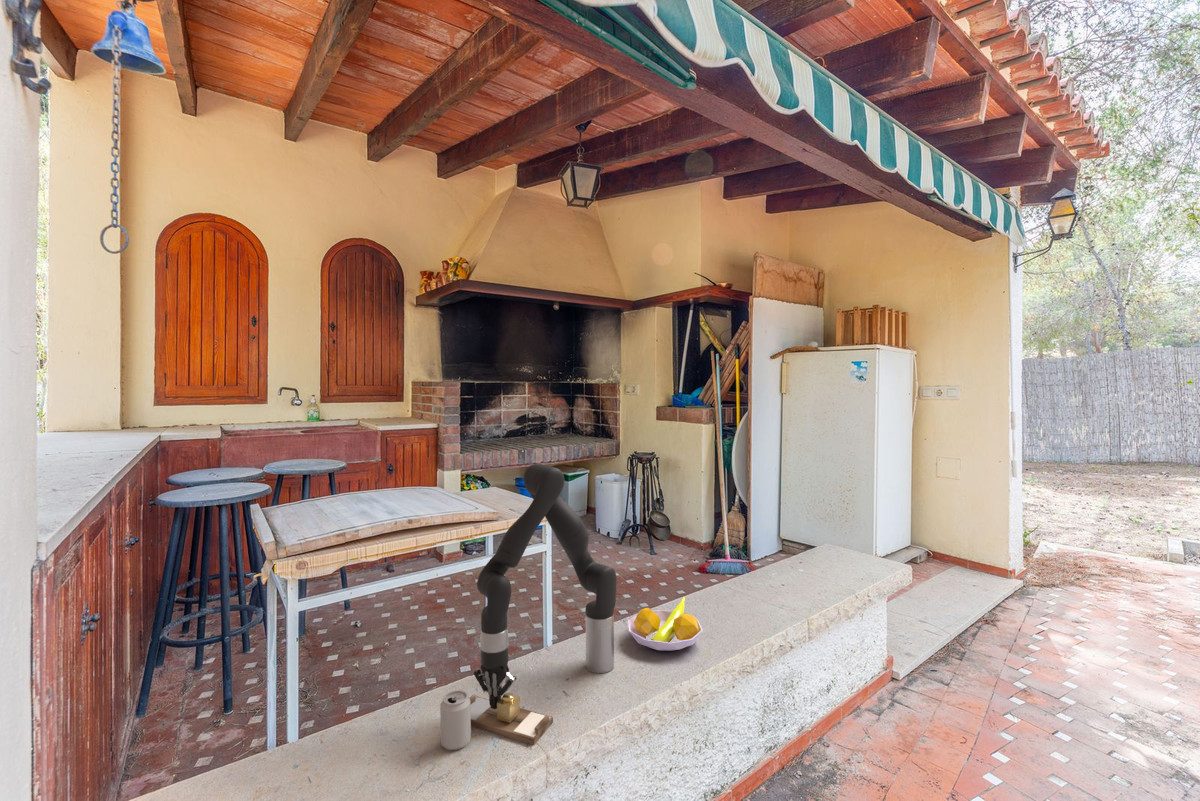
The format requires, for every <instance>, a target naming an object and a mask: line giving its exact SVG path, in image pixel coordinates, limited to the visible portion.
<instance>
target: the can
mask: <svg viewBox="0 0 1200 801" xmlns="http://www.w3.org/2000/svg"><path fill="white" fill-rule="evenodd" d="M468 695H469V694H468V692H466V691H464V690H453V691H450V692H448V693H446V694H445V695H444V696H443V698H442V701H441V702H440V704H439V706H440V708H439V709H440V710H439V711H440V745H441V747H443V748H445V749H446V750H448V751H457V750H458V751H459V750H461V749H463V748H464V747H466V746H467V744H469V742H470V740H471V738H472V730H471V729H472V726H471V706H470V696H468Z"/></svg>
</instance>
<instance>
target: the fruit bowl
mask: <svg viewBox="0 0 1200 801" xmlns="http://www.w3.org/2000/svg"><path fill="white" fill-rule="evenodd" d="M685 601H686V597H685V596H683V597H682V599H681V601H680V602H679V603H678V604H677V605H676V607H675V608H674V609H673V610H663V609H657V610H652V609H651V608H649V607H645V608H642V609H640V610H639V611H638V613H637V614H636V615H634V616H633V617H631V618H629V619H628V620H627V626H628V630H629V633H630V634H631V636H632V637H633V638H634V639H635V641H636V642H637V643H638V644H639V645H641V646H642V645H643V646H645V647H648V648H650V649H654V650H656V651H673V652H674V651H677V650H678V651H679V650H682V649H684V648H687V647H690V646H692V645H695V643H696V641H697V640H698V638H699V637H700V635H701V633H703V627H702V626H701V624H700V621H699V620H698V619H697V618H696V617H695V616H693V615H692V614H689V613H685V608H686V607H685ZM654 633H656V634H655V635H654V636H653V638H652V639H651V640H647V639H646V636H649V635H652V634H654ZM675 636H676V638H677V639H678V640H681V641H677V642H671V643H669V642H670V641H671V640H672V639H673V638H674V637H675Z"/></svg>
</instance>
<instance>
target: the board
mask: <svg viewBox="0 0 1200 801" xmlns="http://www.w3.org/2000/svg"><path fill="white" fill-rule="evenodd" d="M469 698H470V706H471V728H476V729H480V730H482V731H486V732H489V733H493V734H497V735H500V736H503V737H507V738H510V739H512V740H516V741H519V742H524V743H527V744H530V745H533V746H534V745H536V744H537V742H538V741H539V740H540V739H541V738H542V736H543V735H544V734H545V733H546V731H547V730H548V729H549V728H550V727H551V726H552V724H554V717H553V716H550V715H548V714H542V713H539V712H536V711H532V710H528V709H524V708H522V707H520V713H519V714H518V715H517V716H516V717H515V718H514V719H513V720H512V721H511V722H510V723H508V722H504V721H501V720H497V709H496V710H495V709H492V708H491V706H490V704H489V702H490V701H489V698H484V697H480V696H476V694H472V695H471V696H469Z"/></svg>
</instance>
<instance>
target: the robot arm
mask: <svg viewBox="0 0 1200 801" xmlns="http://www.w3.org/2000/svg"><path fill="white" fill-rule="evenodd" d="M523 484H524V488H525V490H526V491H527V492H528V495H530V496H531V498H532V499H533V500H532V501H531V503H530V504H529V507H528V508H527V509H526V510H525V511H524V513H523V514H521V516H519V517H518V518H517V519H516V521H514V522H513V523H512V524H511V526H509V528H508V529H507V531H506V533H505V534H504V535H503V537H502V540H501V541H500V544H499V546H498V548H497V550H496V551H495V553H494V554H493V556H492V557H491V558H490V559H489V560H488V562H487V563H486V564H485V566H484V567H483V568H482V570H480V571H481V572H480V573H479V575H478V578H477V581H476V588H477V591H478V592H479V593H480V594H481V595H483V596H484V597H485V598H487V604H486V606H485V607H483V609H482V610H481V615H480V616H481V617H480V638H479V639H480V641H479V642H480V666H479V668H477V669H476V670H475V671H474V672H473V675H474V677H475V679H476V680H477V682H478V685H479V686H480V688H481V689H482V691H483V692H487V694H488V700H489V701H490V702H489V704H490V706H491V708H492V709H495V710H496V709H497V702H498V701H500V700H501V699H502V697H503V695H504V694H506V692H507V691H508V690H509V689H510V688H511V686H512V685H513V684H514V683H515V682H516V680H517V676H516V675H511V673H510V667H509V666H508V665H509V664H508V663H509V659H510V658H509V656H510V655H509V632H508V610H509V606H510V602H511V597H512V584H511V581H510V579H509V578H508V577H507V576H506V575H505V574H506V573H507V572H508V570H509V569H510V568H516V567H517V566H518V565H519V564H520V562H521V559H522V557H523V555H524V553H525V551H526V549H527V546H528V545H529V543H530V542H531V539H532V537H533V536H534V534H535V532H536V530H537V529H538V527H540V524H541V523H542V522H543V520H544V518H545V519H546V521H547V522H548V524H549V527H551V529H552V532H553V534H554V535H555V538H556V539H557V541H558V543H559V544H560V546H561V547H562V549H563V550H564V552H565V554H566V556H567V557H568V559H569V561H570V563H571V564H572V567H573V569H574V571H575V574H576V577H577V579H578V581H579V583H580V585H581V586H582V588H583V589H584V590H586V591H588V592H589V593H593V594H595V596H596V598H595V600H592V601H589V602H588V603H586V605H585V612H584V613H585V668H586V670H587V671H589V672H592V673H595V674H605V673H608V672H611V671H612V670H613V669H614V668H615V667H614V666H615V630H614V629H615V627H614V626H615V619H614V618H615V617H614V616H615V613H614V612H615V607H616V601H617V584H618V583H617V580H618V578H617V573H616V571H615V569H614V568H613V567H611V566H609V565H605V564H601V563H597V561H595V560H594V558H593V557H592V556H591V554H590V552H589V550H588V547H589V542H590V541H589V540H590V537H589V536H590V535H589V532H588V529H587V528H586V526H585V524H584V522H583V520H582V518H581V517H580V515H578V513H577V512H576V511H575V510H574V509H573V508H572V507H571V505H569V504H568V503H567V502H566V501H565V500H564V499H563V498H562V497H561V495H560V494H561V492H562V491H563V489H564V486H565V476H564V474H563V471H561V469H559V468H557V467H553V466H550V465H546V464H543V463H542V464H541V463H533V464H531V465H529V466H528V467H527V468H526V469H525V471H524V474H523ZM504 680H505V681H504ZM504 683H505V684H504ZM503 684H504V685H503Z"/></svg>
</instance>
